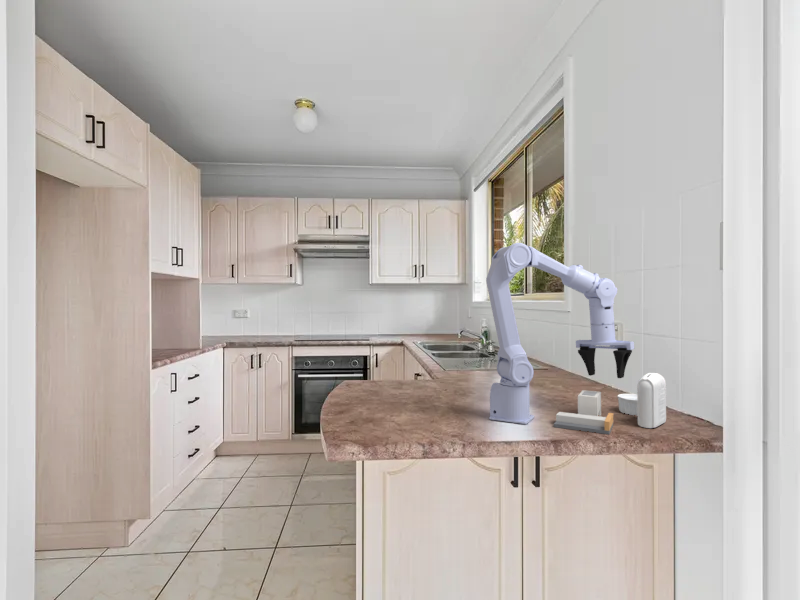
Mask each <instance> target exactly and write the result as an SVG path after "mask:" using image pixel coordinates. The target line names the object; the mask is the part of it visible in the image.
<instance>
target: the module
mask: <svg viewBox="0 0 800 600" xmlns="http://www.w3.org/2000/svg"><path fill="white" fill-rule="evenodd" d="M577 414H582V415H591V416H598V415H599V416H600V417H602V392H601V391H598V390H597V391H596V390H584V389H582V390H581V392H580V393H579V394H578V395H577Z"/></svg>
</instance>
